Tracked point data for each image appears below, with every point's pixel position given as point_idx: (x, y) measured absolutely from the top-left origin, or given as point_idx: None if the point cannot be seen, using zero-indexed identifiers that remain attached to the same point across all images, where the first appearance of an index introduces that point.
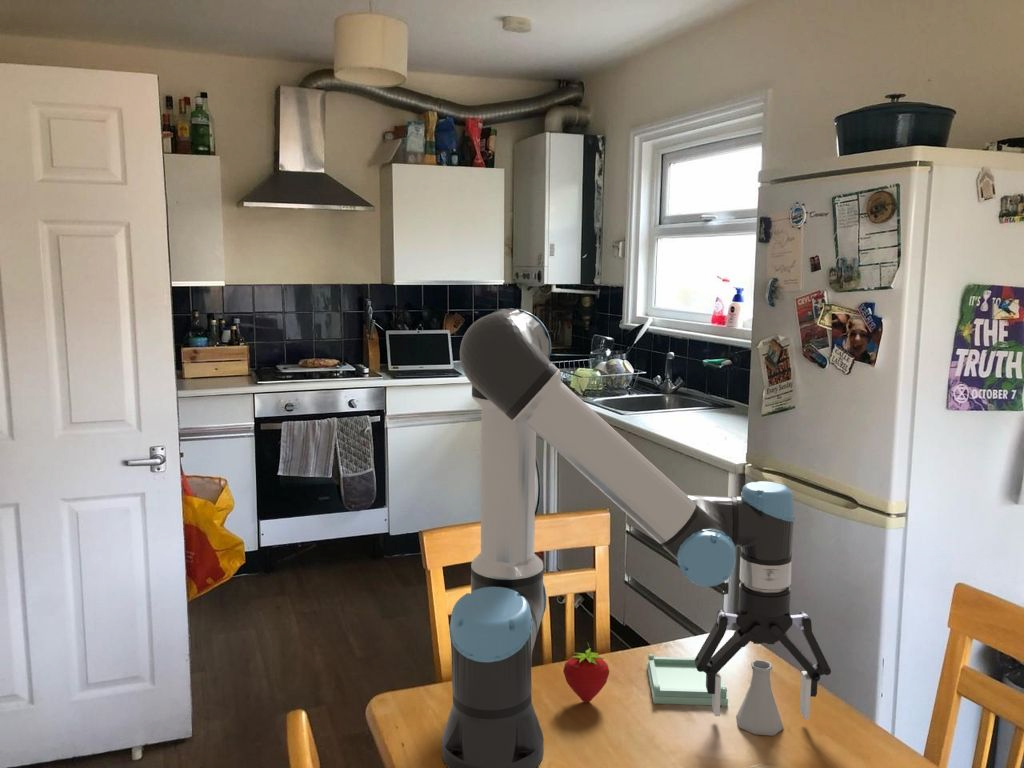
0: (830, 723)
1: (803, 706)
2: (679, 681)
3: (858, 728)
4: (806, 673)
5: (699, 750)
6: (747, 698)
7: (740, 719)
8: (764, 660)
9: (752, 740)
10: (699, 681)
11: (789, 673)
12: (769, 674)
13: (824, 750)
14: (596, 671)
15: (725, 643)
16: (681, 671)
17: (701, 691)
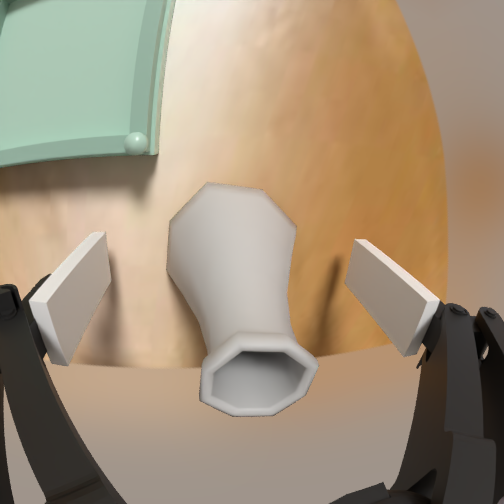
0: (398, 240)
1: (360, 285)
2: (37, 70)
3: (431, 256)
4: (430, 316)
5: (82, 343)
6: (187, 297)
7: (170, 276)
8: (293, 349)
9: None
10: (90, 55)
11: (391, 9)
12: (284, 365)
13: (336, 333)
14: None
15: (16, 426)
16: (59, 13)
17: (66, 154)
